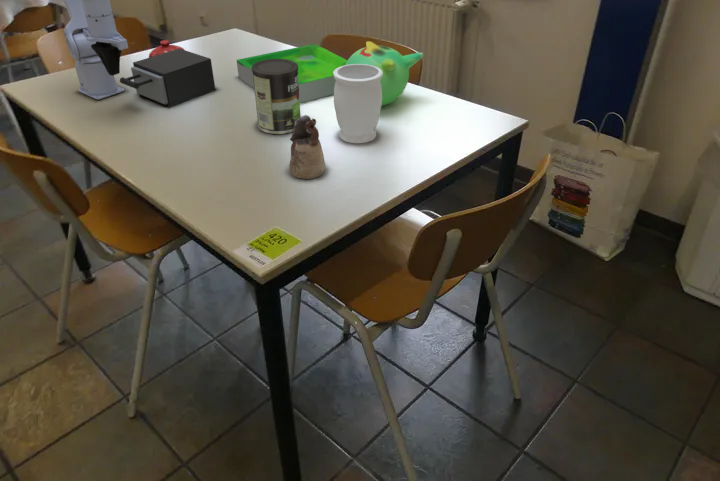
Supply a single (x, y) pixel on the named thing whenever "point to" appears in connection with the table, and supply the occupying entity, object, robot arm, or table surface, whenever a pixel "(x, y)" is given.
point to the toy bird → (387, 67)
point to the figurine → (306, 150)
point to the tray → (301, 69)
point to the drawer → (147, 84)
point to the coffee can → (276, 95)
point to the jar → (357, 101)
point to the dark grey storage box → (181, 74)
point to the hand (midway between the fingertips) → (114, 73)
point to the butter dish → (163, 48)
